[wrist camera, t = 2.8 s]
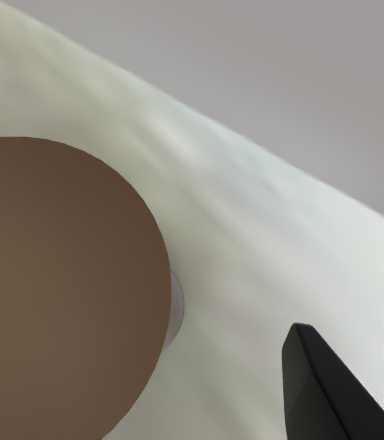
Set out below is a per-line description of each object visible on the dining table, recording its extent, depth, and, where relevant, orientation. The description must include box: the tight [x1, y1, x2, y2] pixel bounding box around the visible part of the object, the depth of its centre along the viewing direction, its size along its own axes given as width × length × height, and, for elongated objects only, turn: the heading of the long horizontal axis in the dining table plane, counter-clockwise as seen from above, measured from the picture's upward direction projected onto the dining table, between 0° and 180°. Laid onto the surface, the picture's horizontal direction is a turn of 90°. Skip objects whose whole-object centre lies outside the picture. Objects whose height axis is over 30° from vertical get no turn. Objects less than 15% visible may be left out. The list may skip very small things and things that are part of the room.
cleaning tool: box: [0, 137, 184, 440], centre depth 10 cm, size 4×4×13 cm
